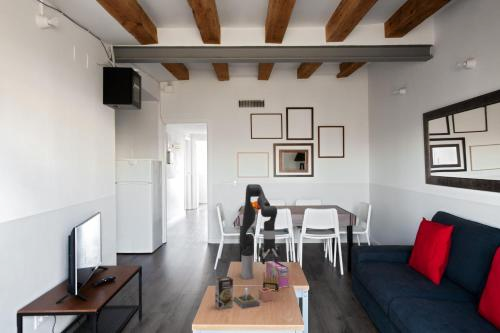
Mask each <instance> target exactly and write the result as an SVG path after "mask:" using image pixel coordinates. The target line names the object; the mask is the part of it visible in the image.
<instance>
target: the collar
mask: <svg viewBox="0 0 500 333" xmlns="http://www.w3.org/2000/svg"><path fill="white" fill-rule="evenodd" d="M272 295H273V291H272V290H270V289H269V288H263V287H261V288H259V289H258V299H259V300H260V301H261V302H263V303H264V302H270V300H271V301H272V300H273V299H272V298H273V296H272Z"/></svg>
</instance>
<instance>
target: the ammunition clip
mask: <svg viewBox="0 0 500 333" xmlns="http://www.w3.org/2000/svg"><path fill="white" fill-rule="evenodd" d="M262 276H263V278H262V279H263V280H262V288H269V289H275V290H278V289H279V287H278V274H276V278H275V273H274V278H273V274H272V273H271V278H270V272H269V278H268V273H266V271H263V275H262Z"/></svg>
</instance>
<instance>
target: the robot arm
mask: <svg viewBox="0 0 500 333" xmlns="http://www.w3.org/2000/svg"><path fill="white" fill-rule="evenodd" d="M245 188H246V189H245V200H244V208H243V217H242V222H241V223H242V224H241V230H240V234H239V240H238V241H239V242H238V243H239V245H240V247H246V248H245V249H243V250H242V251H241V279H244V280H250V279H251V280H252V279H253V278H254V251H255V249H254V247H255V237H254V234H253V233H247V232H248V230H249V229H250V228H251V227H252V226H253V224H254V223H255V220H256V216H257V213H256V209H255V207H254V205H253V203H252V198H256V197H257V199H256V200H257V201H256V202H257V206H258V207H259V208H260V214H261V217H263V218H269V219H268V220H265V221H264V222H263V236H262V237H263V240H262V242H263V243H262V244H263V247H261V246H260V247H258V257H259V258H261V265H262V264H263V265H265V264H266V256H267V255H270V254H272V255H273V260H274V262H275V263H277V262H278V257H279V256H281V249H280V248H281V247H280V245H276V230H275V227H276V225H275V223H276V221H277V220H276V219H277V217H278V216H277V215H278V208H277V207H276V206H275V205H271V203H270V202H269V200H268V199H267V197H266V196H265V193H264V190H263V187H262V186H261V185H260V184H258V183H257V184H256V183H255V184H253V183H250V184H247V185H246V187H245Z"/></svg>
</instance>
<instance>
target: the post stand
mask: <svg viewBox="0 0 500 333" xmlns="http://www.w3.org/2000/svg"><path fill="white" fill-rule="evenodd" d="M243 292H244V294H243V295H238V296H233V302H235V304H237V305H238V306H239V307H240V308H241V309H242V310H244V309H250V308H253V307H258V306H260V301H259V300H257V298H255V297H254V296H253V295H252V294H251V293H250V294H249V287H248V286H245V287H244V290H243Z"/></svg>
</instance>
